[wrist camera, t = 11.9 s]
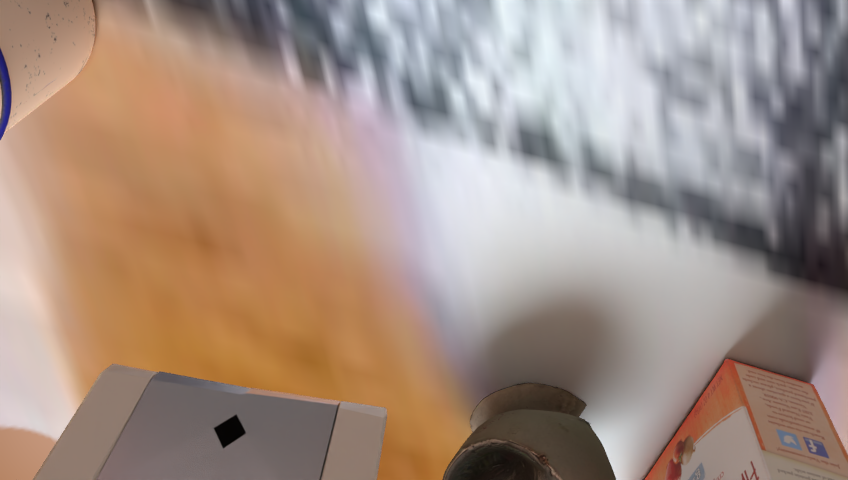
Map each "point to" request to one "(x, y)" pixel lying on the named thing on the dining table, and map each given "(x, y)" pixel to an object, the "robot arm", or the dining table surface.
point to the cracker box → (754, 432)
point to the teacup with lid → (40, 52)
